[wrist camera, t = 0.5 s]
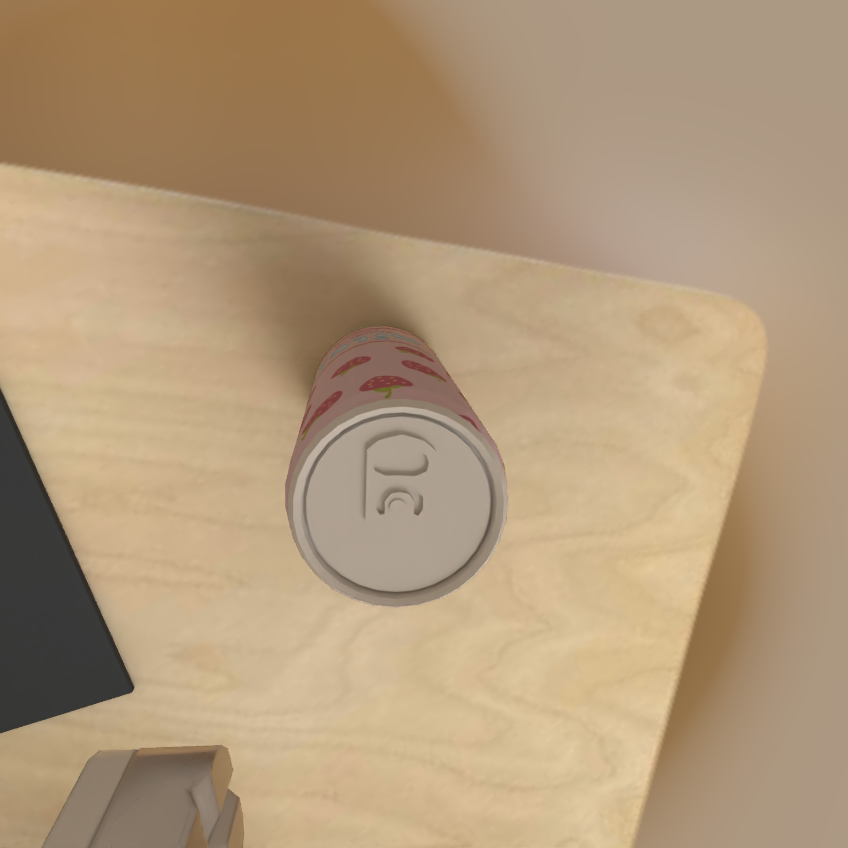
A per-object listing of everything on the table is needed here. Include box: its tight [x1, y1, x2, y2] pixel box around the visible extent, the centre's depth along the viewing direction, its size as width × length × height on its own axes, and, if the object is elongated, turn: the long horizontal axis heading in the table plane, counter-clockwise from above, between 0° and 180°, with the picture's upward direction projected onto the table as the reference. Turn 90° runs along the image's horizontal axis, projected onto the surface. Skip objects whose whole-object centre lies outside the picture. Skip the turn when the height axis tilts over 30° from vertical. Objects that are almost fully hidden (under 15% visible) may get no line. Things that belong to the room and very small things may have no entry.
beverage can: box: [285, 326, 508, 608], centre depth 25 cm, size 6×6×15 cm
